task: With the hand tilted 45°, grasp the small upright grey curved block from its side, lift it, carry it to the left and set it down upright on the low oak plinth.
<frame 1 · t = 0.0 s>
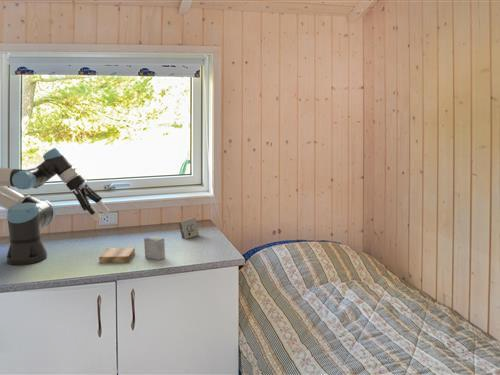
hand: (103, 216, 190), 15 cm above the cabinet, tool tilted 35°, fingers open, 13 cm apart
plinth: (117, 257, 179), on the cabinet
grey curved block: (155, 258, 179), on the cabinet
electrical switch: (188, 237, 211), on the cabinet
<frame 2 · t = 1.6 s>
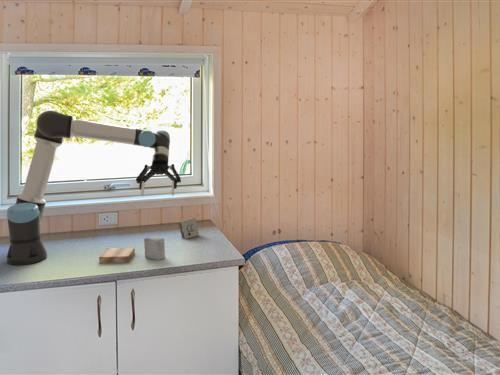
hand: (157, 194, 187), 25 cm above the cabinet, tool tilted 45°, fingers open, 13 cm apart
nothing on the cabinet moved.
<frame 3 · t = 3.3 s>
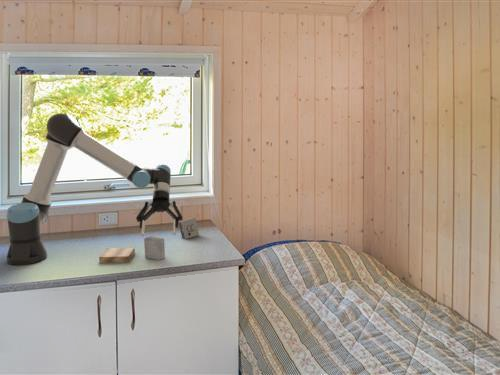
hand: (158, 234, 182), 9 cm above the cabinet, tool tilted 45°, fingers open, 13 cm apart
nothing on the cabinet moved.
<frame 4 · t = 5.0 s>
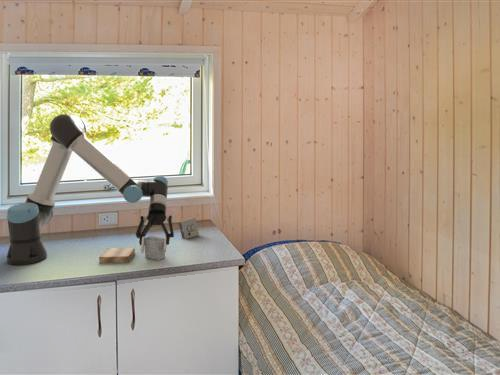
hand: (153, 251, 175), 4 cm above the cabinet, tool tilted 45°, fingers closed on grey curved block, 9 cm apart
grey curved block: (155, 258, 179), on the cabinet, touching gripper
everything else where it was.
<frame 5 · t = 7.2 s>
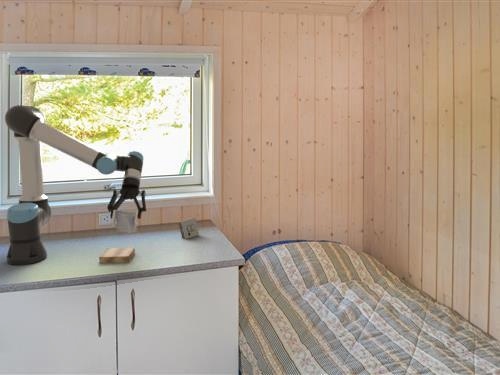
hand: (124, 224, 173), 15 cm above the cabinet, tool tilted 45°, fingers closed on grey curved block, 9 cm apart
grey curved block: (126, 231, 177), point 11 cm above the cabinet, touching gripper
everything else where it was.
when the fingers open (7 cm above the cabinet, at t = 9.5 s): grey curved block drops 1 cm, resting on plinth.
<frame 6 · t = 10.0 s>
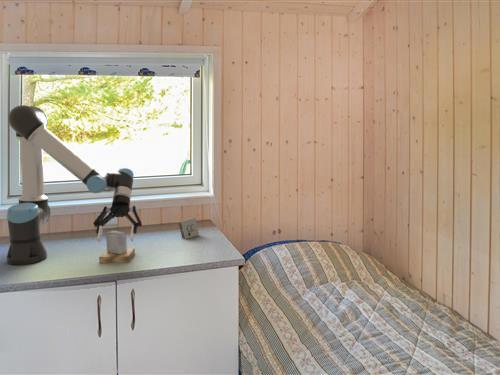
hand: (115, 240, 175), 8 cm above the cabinet, tool tilted 45°, fingers open, 13 cm apart
grey curved block: (117, 252, 178), point 2 cm above the cabinet, touching plinth
everything else where it was.
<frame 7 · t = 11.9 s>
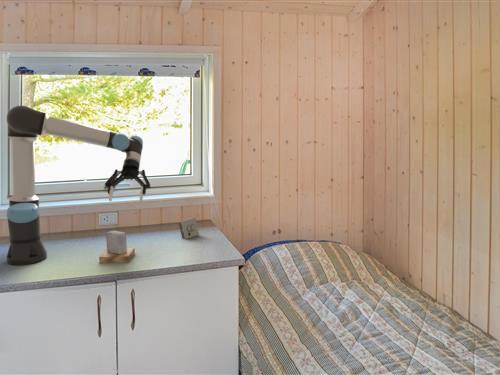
hand: (125, 199, 186), 23 cm above the cabinet, tool tilted 45°, fingers open, 13 cm apart
nothing on the cabinet moved.
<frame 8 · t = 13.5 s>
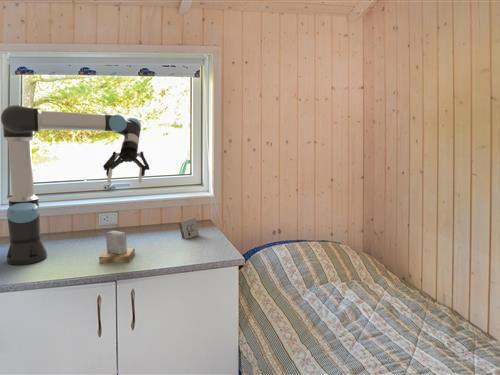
hand: (124, 181, 184), 32 cm above the cabinet, tool tilted 45°, fingers open, 13 cm apart
nothing on the cabinet moved.
at the end: grey curved block inside the target area on the plinth (0.2 cm from its centre), point 2.3 cm above the plinth's base; grey curved block tilted 0°; the gripper is holding nothing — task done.
